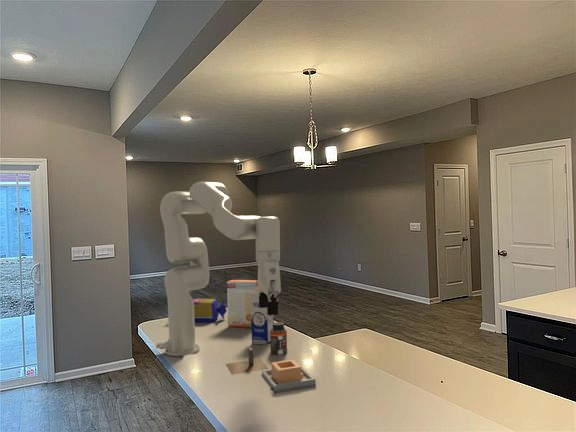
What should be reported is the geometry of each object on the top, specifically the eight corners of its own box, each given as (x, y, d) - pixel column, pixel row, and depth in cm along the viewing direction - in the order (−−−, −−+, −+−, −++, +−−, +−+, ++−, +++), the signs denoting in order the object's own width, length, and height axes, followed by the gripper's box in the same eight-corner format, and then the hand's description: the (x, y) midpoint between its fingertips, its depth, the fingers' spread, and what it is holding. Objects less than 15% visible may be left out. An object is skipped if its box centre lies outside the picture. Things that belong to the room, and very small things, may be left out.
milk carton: (251, 344, 162) (249, 293, 162) (259, 339, 168) (257, 290, 169) (267, 345, 160) (266, 293, 160) (274, 340, 166) (273, 290, 166)
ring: (278, 386, 119) (278, 370, 119) (271, 377, 126) (271, 362, 126) (306, 381, 122) (306, 366, 122) (298, 373, 129) (297, 358, 129)
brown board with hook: (231, 377, 128) (231, 356, 128) (225, 366, 138) (225, 347, 138) (268, 371, 132) (268, 351, 132) (260, 361, 142) (259, 342, 142)
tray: (274, 393, 116) (274, 386, 116) (262, 377, 128) (261, 370, 128) (315, 385, 120) (315, 379, 120) (300, 371, 132) (299, 364, 132)
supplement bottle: (285, 358, 145) (284, 325, 145) (268, 357, 146) (268, 325, 146) (288, 352, 151) (287, 321, 151) (272, 352, 152) (272, 321, 152)
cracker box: (261, 325, 191) (259, 279, 191) (255, 328, 185) (254, 281, 185) (233, 323, 195) (232, 279, 195) (227, 326, 190) (226, 281, 190)
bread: (180, 318, 210) (180, 297, 210) (228, 318, 207) (227, 297, 207) (172, 323, 200) (172, 301, 200) (222, 323, 197) (222, 301, 197)
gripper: (288, 258, 122) (288, 316, 122) (271, 253, 138) (271, 304, 139) (263, 259, 120) (264, 318, 120) (249, 254, 136) (249, 306, 136)
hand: (268, 310), depth 129 cm, fingers open, 9 cm apart
